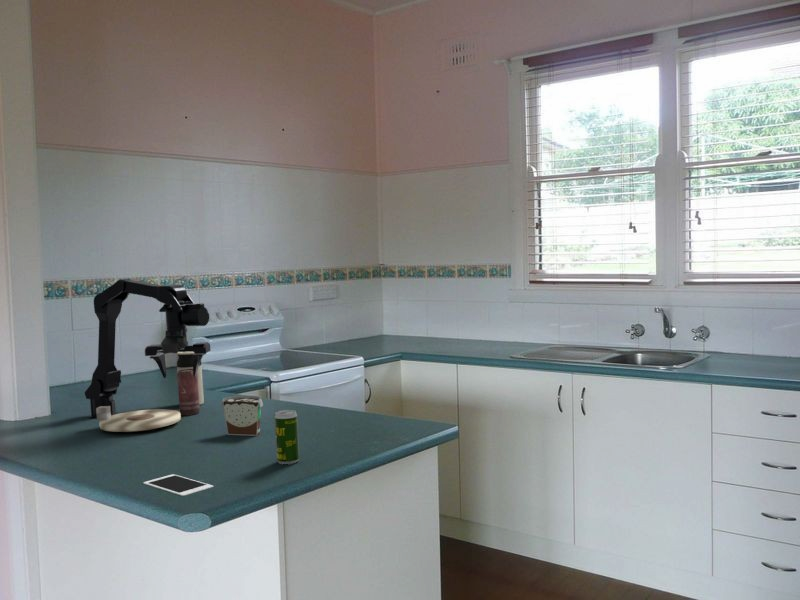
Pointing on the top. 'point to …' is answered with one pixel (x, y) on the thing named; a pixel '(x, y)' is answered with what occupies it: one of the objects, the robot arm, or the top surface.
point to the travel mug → (187, 363)
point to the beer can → (286, 437)
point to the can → (188, 392)
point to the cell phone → (178, 485)
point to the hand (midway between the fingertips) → (179, 377)
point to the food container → (242, 415)
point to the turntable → (135, 419)
